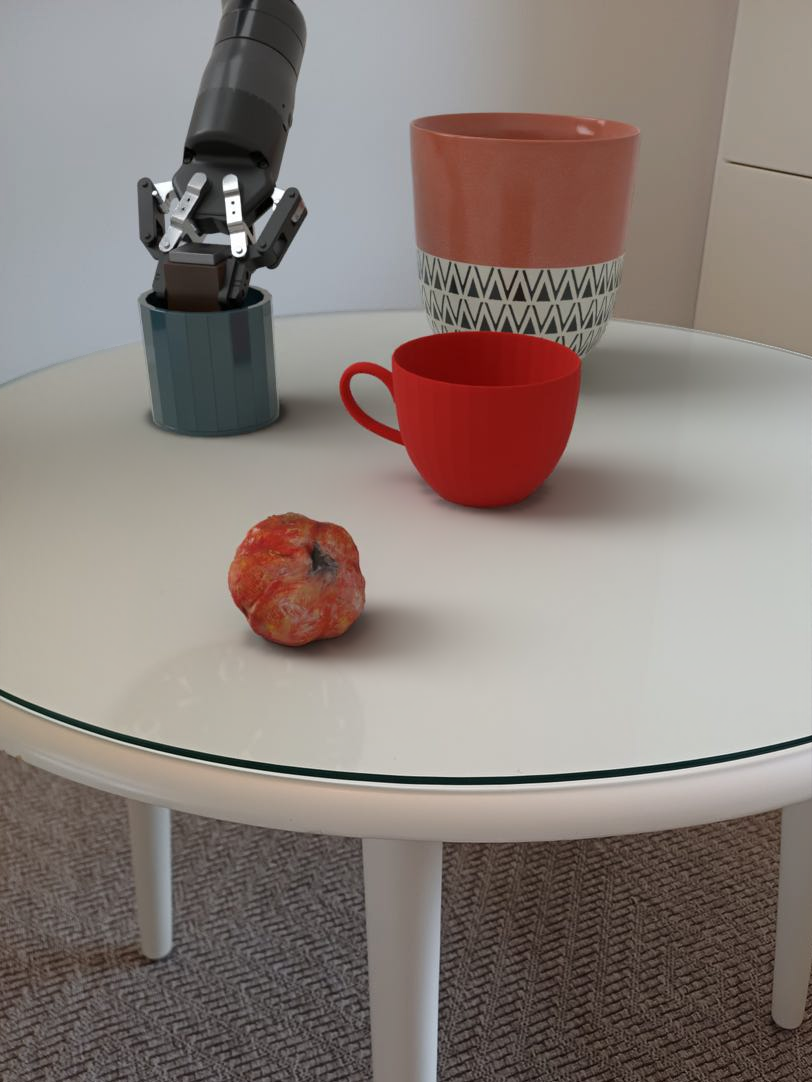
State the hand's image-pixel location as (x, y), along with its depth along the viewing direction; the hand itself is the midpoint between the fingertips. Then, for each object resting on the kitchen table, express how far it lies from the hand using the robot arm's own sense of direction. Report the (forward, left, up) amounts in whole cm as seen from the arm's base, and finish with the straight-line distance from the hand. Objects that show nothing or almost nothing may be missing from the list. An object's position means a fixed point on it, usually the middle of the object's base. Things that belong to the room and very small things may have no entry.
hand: (195, 305), depth 87 cm
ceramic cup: (+20, -13, -10) cm, 26 cm away
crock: (+1, +2, -10) cm, 10 cm away
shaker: (+1, +2, -4) cm, 4 cm away
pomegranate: (+10, -33, -10) cm, 36 cm away
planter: (+27, +14, -10) cm, 31 cm away
